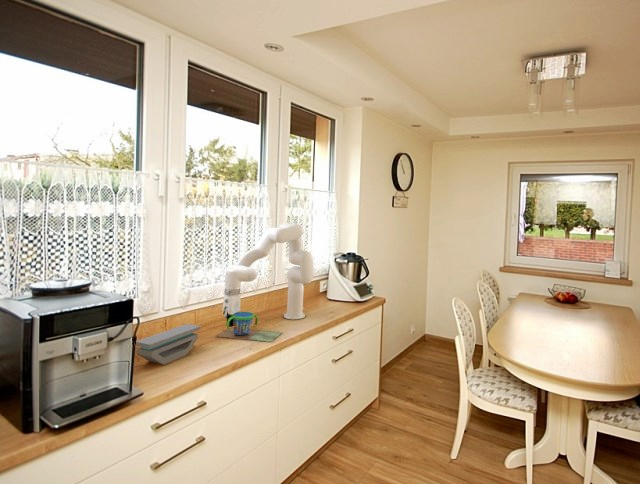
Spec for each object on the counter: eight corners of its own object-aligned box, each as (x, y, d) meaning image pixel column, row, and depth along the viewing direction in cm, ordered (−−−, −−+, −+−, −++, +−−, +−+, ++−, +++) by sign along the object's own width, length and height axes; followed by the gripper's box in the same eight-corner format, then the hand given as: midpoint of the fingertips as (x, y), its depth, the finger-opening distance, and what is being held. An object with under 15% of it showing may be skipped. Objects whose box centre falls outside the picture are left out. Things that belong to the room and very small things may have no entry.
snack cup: (253, 328, 199) (255, 310, 199) (259, 334, 191) (261, 315, 191) (223, 331, 189) (224, 312, 189) (228, 338, 181) (230, 318, 181)
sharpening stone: (148, 371, 144) (149, 344, 144) (133, 367, 147) (134, 341, 146) (199, 349, 168) (200, 326, 168) (185, 346, 171) (187, 323, 170)
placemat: (230, 328, 198) (230, 328, 198) (281, 333, 195) (281, 332, 195) (216, 337, 185) (216, 336, 185) (270, 342, 182) (271, 341, 182)
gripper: (231, 295, 182) (228, 331, 182) (246, 289, 197) (244, 322, 197) (217, 294, 183) (214, 330, 183) (233, 288, 198) (231, 321, 198)
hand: (230, 326), depth 190 cm, fingers closed
